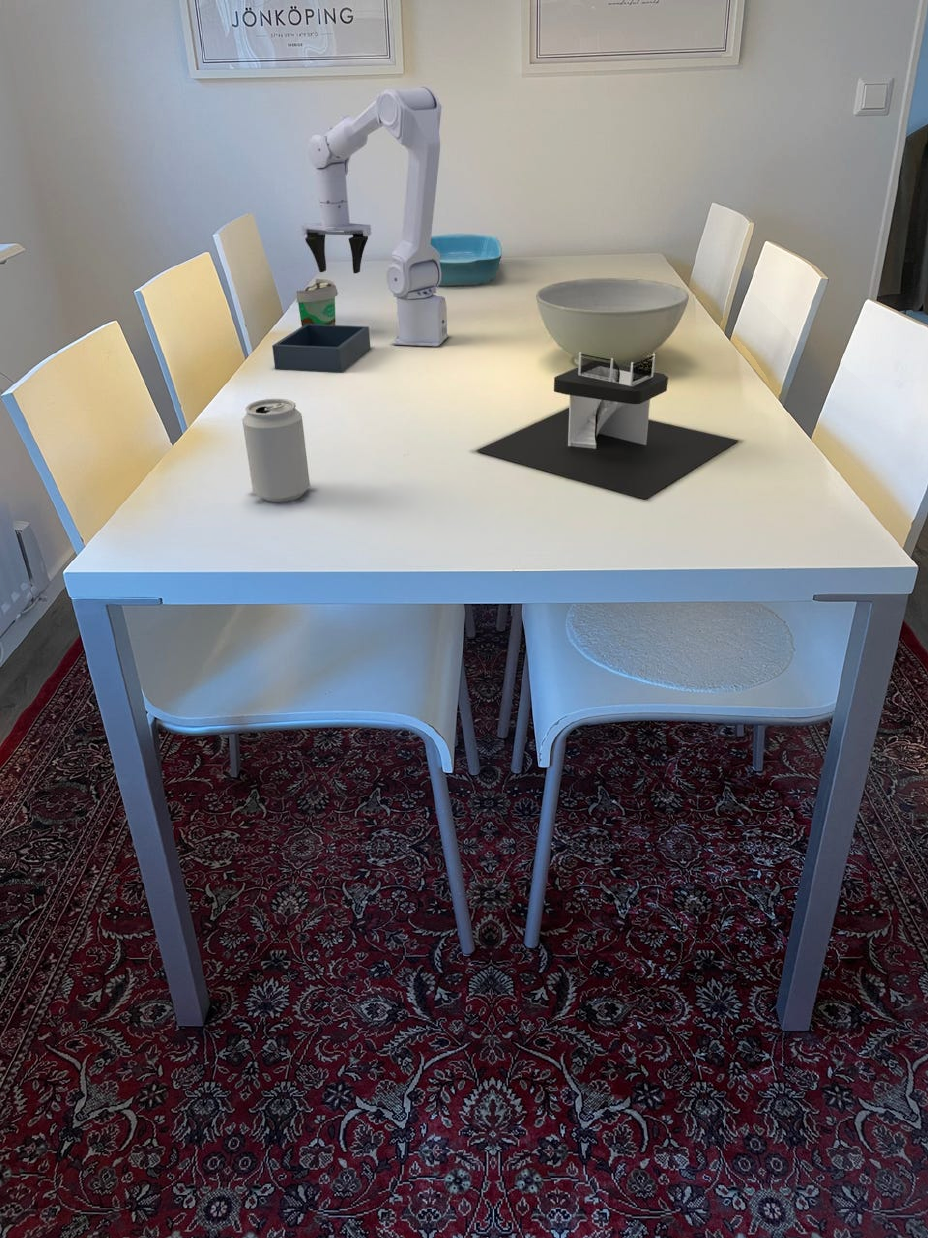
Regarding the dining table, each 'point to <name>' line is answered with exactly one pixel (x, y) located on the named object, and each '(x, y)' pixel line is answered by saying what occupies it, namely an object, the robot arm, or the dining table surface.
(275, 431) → the can
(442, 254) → the casserole dish
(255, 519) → the dining table surface
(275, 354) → the tote
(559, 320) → the decorative bowl
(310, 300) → the food container
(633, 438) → the black-topped pedestal
